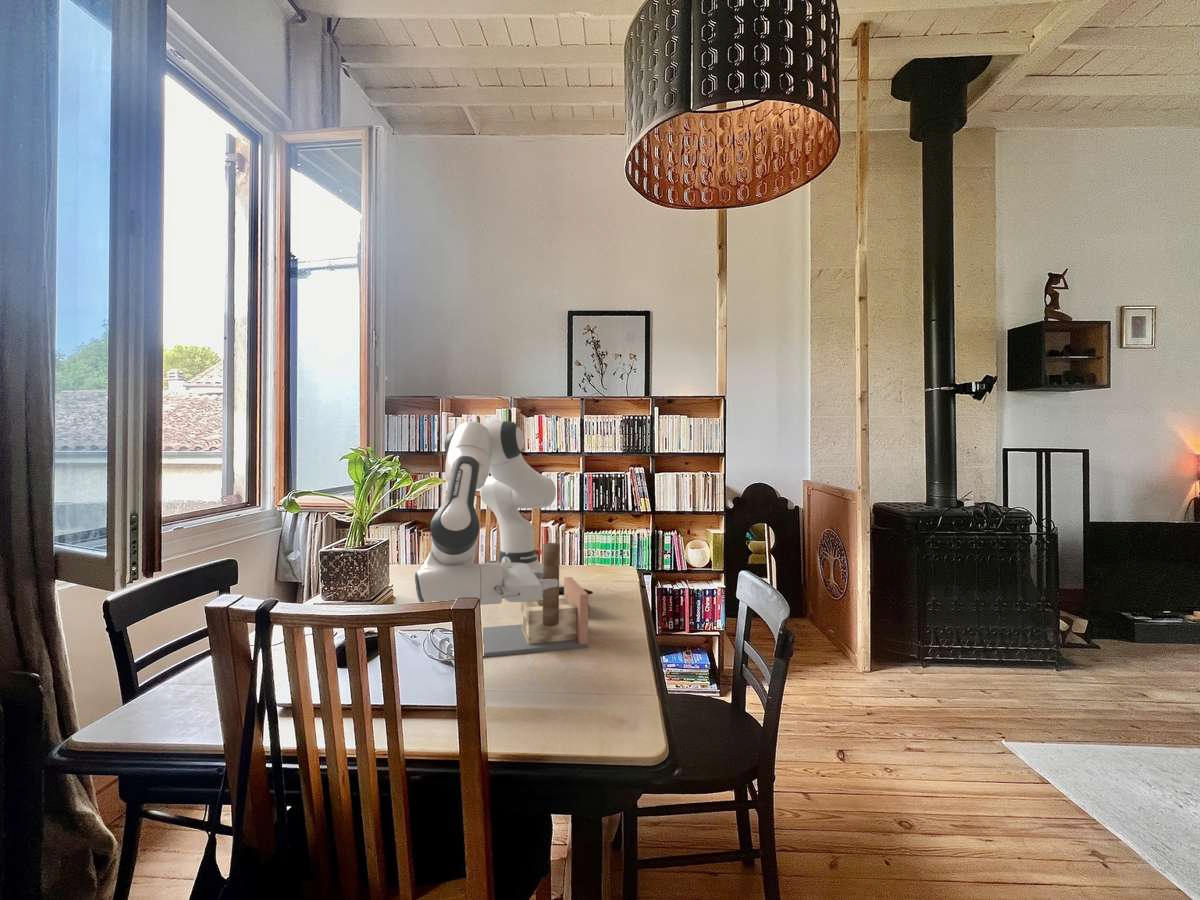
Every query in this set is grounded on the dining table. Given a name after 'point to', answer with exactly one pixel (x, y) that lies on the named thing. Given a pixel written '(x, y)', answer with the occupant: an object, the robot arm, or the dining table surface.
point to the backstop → (515, 642)
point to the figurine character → (561, 592)
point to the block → (542, 633)
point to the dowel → (552, 593)
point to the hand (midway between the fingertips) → (554, 579)
